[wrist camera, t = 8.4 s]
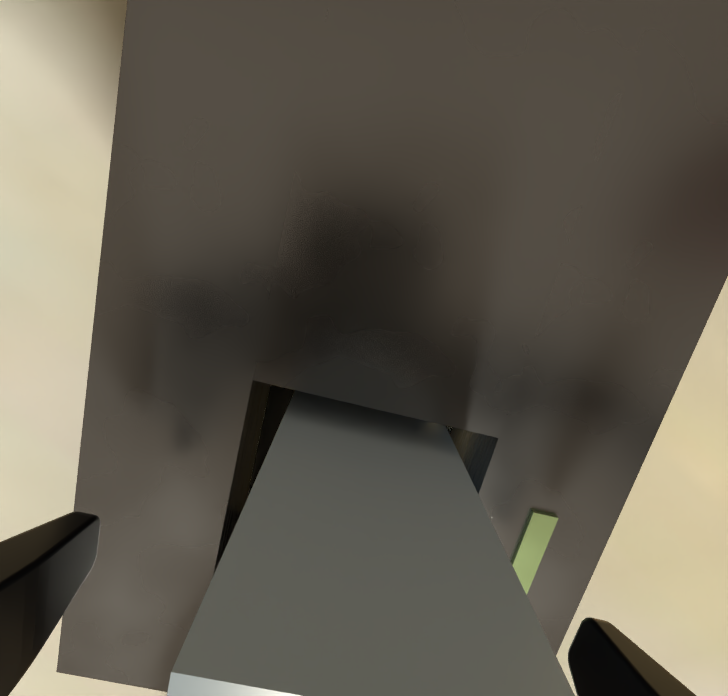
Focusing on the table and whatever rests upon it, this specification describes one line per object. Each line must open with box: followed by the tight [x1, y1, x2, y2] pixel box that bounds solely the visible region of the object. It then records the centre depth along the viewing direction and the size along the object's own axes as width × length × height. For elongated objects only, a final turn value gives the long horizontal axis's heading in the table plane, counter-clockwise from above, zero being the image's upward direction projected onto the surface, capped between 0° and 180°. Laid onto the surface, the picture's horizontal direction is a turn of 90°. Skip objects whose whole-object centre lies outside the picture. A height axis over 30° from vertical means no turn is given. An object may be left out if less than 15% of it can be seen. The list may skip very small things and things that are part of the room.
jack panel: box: [57, 0, 728, 692], centre depth 9 cm, size 12×26×3 cm, turn 166°
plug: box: [167, 390, 575, 696], centre depth 8 cm, size 4×4×9 cm
